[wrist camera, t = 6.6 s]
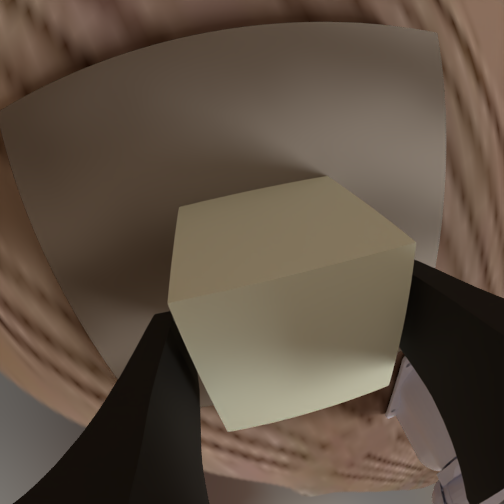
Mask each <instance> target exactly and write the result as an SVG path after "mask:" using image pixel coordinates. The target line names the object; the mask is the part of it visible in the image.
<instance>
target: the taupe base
mask: <svg viewBox="0 0 504 504" xmlns="http://www.w3.org/2000/svg"><path fill="white" fill-rule="evenodd" d="M0 129H1V133H2V137H3V141H4V144H5V148H6V152H7V155H8V159H9V162H10V166H11V169H12V172H13V175H14V178H15V181H16V184H17V187H18V190H19V193H20V196H21V199H22V201H23V204H24V207H25V209H26V212H27V215H28V217H29V220H30V222H31V225H32V227H33V229H34V232H35V234H36V237H37V239H38V241H39V243H40V246H41V248H42V250H43V252H44V254H45V257H46V259H47V261H48V263H49V265H50V267H51V269H52V271H53V273H54V275H55V277H56V279H57V281H58V283H59V285H60V287H61V289H62V291H63V293H64V294H65V296H66V298H67V300H68V302H69V304H70V305H71V307H72V309H73V311H74V312H75V314H76V316H77V318H78V319H79V321H80V323H81V324H82V326H83V328H84V329H85V331H86V333H87V334H88V336H89V337H90V339H91V341H92V342H93V344H94V345H95V347H96V348H97V350H98V351H99V353H100V355H101V356H102V358H103V359H104V360H105V362H106V363H107V365H108V366H109V368H110V369H111V371H112V372H113V373H114V375H115V376H116V378H117V379H119V377H120V375H121V374H122V372H123V370H124V368H125V366H126V365H127V363H128V361H129V359H130V357H131V356H132V354H133V352H134V350H135V348H136V347H137V345H138V343H139V341H140V339H141V337H142V335H143V334H144V332H145V330H146V328H147V326H148V324H149V323H150V321H151V319H152V317H153V316H154V314H158V313H163V312H168V311H170V308H169V306H168V292H169V282H170V273H171V264H172V255H173V247H174V239H175V231H176V224H177V217H178V210H179V207H181V206H185V205H189V204H194V203H198V202H202V201H206V200H211V199H215V198H219V197H224V196H228V195H233V194H237V193H242V192H246V191H251V190H256V189H261V188H266V187H271V186H276V185H281V184H286V183H291V182H296V181H301V180H307V179H312V178H318V177H323V176H329V177H330V178H331V179H333V180H334V181H336V182H337V183H339V184H340V185H342V186H343V187H344V188H346V189H347V190H349V191H350V192H351V193H353V194H354V195H356V196H357V197H358V198H360V199H361V200H362V201H364V202H365V203H367V204H368V205H369V206H371V207H372V208H373V209H375V210H376V211H377V212H379V213H380V214H381V215H383V216H384V217H385V218H386V219H388V220H389V221H390V222H392V223H393V224H394V225H395V226H397V227H398V228H399V229H400V230H402V231H403V232H404V233H405V234H407V235H408V236H409V237H410V238H412V239H413V240H414V241H415V242H416V249H415V258H414V259H415V260H417V261H419V262H422V263H424V264H426V265H428V266H431V267H433V268H435V266H436V260H437V254H438V247H439V240H440V232H441V224H442V215H443V204H444V191H445V173H446V111H445V94H444V81H443V71H442V62H441V54H440V47H439V41H438V35H437V33H435V32H430V31H424V30H418V29H412V28H405V27H398V26H389V25H380V24H368V23H351V22H294V23H277V24H265V25H255V26H246V27H239V28H231V29H225V30H219V31H213V32H207V33H202V34H197V35H192V36H187V37H183V38H178V39H174V40H170V41H166V42H162V43H158V44H155V45H151V46H148V47H144V48H141V49H137V50H134V51H131V52H128V53H125V54H122V55H119V56H116V57H113V58H110V59H107V60H104V61H102V62H99V63H96V64H94V65H91V66H89V67H86V68H84V69H81V70H79V71H77V72H74V73H72V74H70V75H67V76H65V77H63V78H61V79H58V80H56V81H54V82H52V83H50V84H48V85H46V86H44V87H42V88H40V89H38V90H36V91H34V92H32V93H30V94H28V95H26V96H25V97H23V98H21V99H19V100H17V101H16V102H14V103H12V104H10V105H9V106H7V107H5V108H4V109H2V110H0ZM400 351H402V350H401V349H400V347H399V348H398V352H400ZM398 352H397V353H398ZM198 380H199V388H200V407H206V406H212V405H214V404H213V402H212V400H211V398H210V396H209V394H208V392H207V390H206V388H205V386H204V384H203V382H202V380H201V378H200V376H199V374H198Z"/></svg>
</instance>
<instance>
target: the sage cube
mask: <svg viewBox="0 0 504 504" xmlns="http://www.w3.org/2000/svg"><path fill="white" fill-rule="evenodd" d="M415 249H416V242H415V241H414V240H413V239H412V238H410V237H409V236H408V235H407V234H405V233H404V232H403V231H402V230H400V229H399V228H398V227H397V226H395V225H394V224H393V223H392V222H390V221H389V220H388V219H386V218H385V217H384V216H383V215H381V214H380V213H379V212H377V211H376V210H375V209H373V208H372V207H371V206H369V205H368V204H367V203H365V202H364V201H362V200H361V199H360V198H358V197H357V196H356V195H354V194H353V193H351V192H350V191H349V190H347V189H346V188H344V187H343V186H342V185H340V184H339V183H337V182H336V181H334V180H333V179H331V178H330V177H329V176H323V177H318V178H312V179H307V180H301V181H296V182H291V183H286V184H281V185H276V186H271V187H266V188H261V189H256V190H251V191H246V192H242V193H237V194H233V195H228V196H224V197H219V198H215V199H211V200H206V201H202V202H198V203H194V204H189V205H185V206H181V207H179V210H178V217H177V224H176V231H175V239H174V247H173V255H172V264H171V273H170V282H169V292H168V306H169V308H170V311H171V313H172V315H173V318H174V320H175V323H176V325H177V327H178V330H179V332H180V334H181V337H182V339H183V341H184V343H185V346H186V348H187V350H188V352H189V354H190V357H191V359H192V361H193V363H194V365H195V367H196V370H197V372H198V374H199V376H200V378H201V380H202V382H203V384H204V386H205V388H206V390H207V392H208V394H209V396H210V398H211V400H212V402H213V404H214V406H215V408H216V410H217V412H218V414H219V416H220V418H221V420H222V422H223V424H224V425H225V427H226V429H227V431H228V432H230V431H235V430H241V429H246V428H251V427H255V426H260V425H264V424H269V423H273V422H277V421H281V420H285V419H289V418H293V417H296V416H300V415H304V414H307V413H311V412H314V411H318V410H321V409H324V408H327V407H331V406H334V405H337V404H340V403H343V402H346V401H349V400H352V399H354V398H357V397H360V396H363V395H365V394H368V393H371V392H373V391H376V390H379V389H381V388H384V387H386V386H389V383H390V379H391V376H392V372H393V368H394V364H395V360H396V356H397V352H398V348H399V344H400V339H401V335H402V330H403V325H404V320H405V315H406V310H407V304H408V299H409V293H410V286H411V280H412V273H413V265H414V258H415Z"/></svg>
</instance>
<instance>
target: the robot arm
mask: <svg viewBox="0 0 504 504" xmlns="http://www.w3.org/2000/svg"><path fill="white" fill-rule="evenodd" d="M399 347H400V349H401V350H402V352H403V353H404V355H405V356H404V358H403V359H402V363H401V366H400V370H399V374H398V377H397V380H396V384H395V387H394V390H393V393H392V396H391V400H390V403H389V406H388V409H387V411H386V414H385V416H386V418H391V417H394V416H396V417H397V419H398V421H399V422H400V424H401V426H402V428H403V430H404V432H405V434H406V436H407V438H408V440H409V442H410V443H411V445H412V447H413V449H414V451H415V453H416V455H417V457H418V459H419V460H420V462H421V463H422V464H423V465H424V466H426V467H428V468H429V469H432V470H435V471H440V472H439V473H437V477H438V479H439V480H438V481H437V482H436V484H435V486H434V491H433V494H432V502H433V504H504V298H501V297H499V296H496V295H494V294H491V293H489V292H486V291H484V290H482V289H479V288H477V287H474V286H472V285H470V284H468V283H465V282H463V281H461V280H459V279H457V278H455V277H452V276H450V275H448V274H446V273H444V272H442V271H439V270H437V269H435V268H433V267H431V266H428V265H426V264H424V263H422V262H419V261H417V260H415V259H414V265H413V273H412V280H411V286H410V293H409V299H408V304H407V310H406V315H405V320H404V325H403V330H402V335H401V339H400V344H399ZM13 504H209V500H208V496H207V490H206V485H205V478H204V473H203V465H202V455H201V424H200V388H199V380H198V372H197V370H196V367H195V365H194V363H193V361H192V359H191V357H190V354H189V352H188V350H187V348H186V346H185V343H184V341H183V339H182V337H181V334H180V332H179V330H178V327H177V325H176V323H175V320H174V318H173V315H172V313H171V311H168V312H163V313H158V314H154V316H153V317H152V319H151V321H150V323H149V324H148V326H147V328H146V330H145V332H144V334H143V335H142V337H141V339H140V341H139V343H138V345H137V347H136V348H135V350H134V352H133V354H132V356H131V357H130V359H129V361H128V363H127V365H126V366H125V368H124V370H123V372H122V374H121V375H120V377H119V379H118V380H117V382H116V384H115V385H114V387H113V388H112V390H111V392H110V393H109V395H108V397H107V398H106V400H105V402H104V403H103V405H102V406H101V408H100V409H99V411H98V412H97V414H96V415H95V416H94V418H93V419H92V421H91V422H90V423H89V425H88V426H87V427H86V429H85V430H84V431H83V433H82V434H81V435H80V437H79V438H78V439H77V440H76V441H75V443H74V444H73V445H72V446H71V447H70V449H69V450H68V451H67V452H66V453H65V454H64V456H63V457H62V458H61V459H60V460H59V461H58V463H57V464H56V465H55V466H54V467H53V468H52V469H51V470H50V471H49V472H48V473H47V474H46V475H45V476H44V477H43V478H42V479H41V480H40V481H39V482H38V483H37V484H36V485H35V486H34V487H33V488H31V489H30V490H29V491H28V492H27V493H26V494H25V495H24V496H22V497H21V498H20V499H18V500H17V501H16V502H15V503H13Z"/></svg>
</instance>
